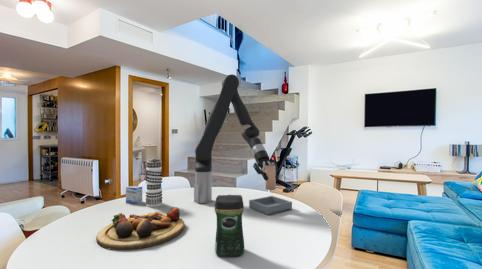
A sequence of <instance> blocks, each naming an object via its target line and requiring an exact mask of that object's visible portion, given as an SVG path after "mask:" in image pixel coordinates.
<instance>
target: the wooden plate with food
mask: <svg viewBox="0 0 482 269" xmlns="http://www.w3.org/2000/svg"><path fill="white" fill-rule="evenodd" d="M180 213H181V212H180V209H179V208H178V207H173V208H170V210H169V211H168V212H166V213H163V212H161V211H153V212H148V213H147V214H146V213H145V214H139V215H138V214H137V215H136V214H130V215H129V217H127V216H126V215H125V214H124V213H123V212H119V213H118V214H115V215H113V218H112V220H111V222H112V223H109V224H107V225H105V226H103V228H101V229H100V230H99V232H97V234H96V236H95V238H96V239H95V241H96V243H97V244H98V245H99V244H100V245H99V246H101V247H102V246H103V247H102V248H105V247H106V249H108V248H110V249H109V250H115V249H116V250H119V251H120V250H121V251H125V250H126V251H129V250H137V249H144V248H149V247H152V246H157V245H159V244H163V243H165V242H167V241H170V240H172V239H174V238H175V237H177V236H178V235H180V234H181V233H182V231H183V230H184V229H185V221H184V219H183V218H181V217H180V215H181V214H180Z"/></svg>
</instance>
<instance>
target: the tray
mask: <svg viewBox="0 0 482 269" xmlns="http://www.w3.org/2000/svg"><path fill="white" fill-rule="evenodd" d="M292 205H293V201H290V200H287V199H284V198H281V197H277V196H274V195H269V196H265V197H259V198H253V199H249V200H248V208H249V209H251V210H253V211H255V212H259V213H260V214H263V215H265V216H273V215H276V214H281V213H284V212H288V211H292V210H293V209H292V208H293V206H292Z"/></svg>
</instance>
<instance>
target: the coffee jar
mask: <svg viewBox="0 0 482 269" xmlns="http://www.w3.org/2000/svg"><path fill="white" fill-rule="evenodd" d="M244 208H245V206H244V200H243V196H242V194H222V195H217V196H216V198H215V203H214V213H215V215H216V231H215V243H214V252H215V255H217V256H218V257H224V258H225V257H227V258H228V257H230V258H231V257H239V256H242V255H243V254H244V252H245V239H244V231H243V230H244V229H243V213H244V211H245V210H244Z"/></svg>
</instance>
